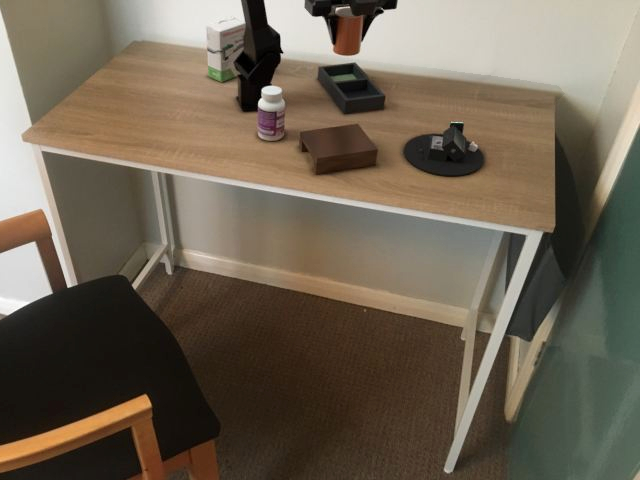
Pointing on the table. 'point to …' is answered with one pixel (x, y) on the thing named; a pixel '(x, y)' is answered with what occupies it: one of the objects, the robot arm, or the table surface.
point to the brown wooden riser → (338, 148)
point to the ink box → (224, 47)
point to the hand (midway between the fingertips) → (346, 43)
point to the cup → (348, 33)
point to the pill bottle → (271, 114)
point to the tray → (351, 88)
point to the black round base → (444, 153)
